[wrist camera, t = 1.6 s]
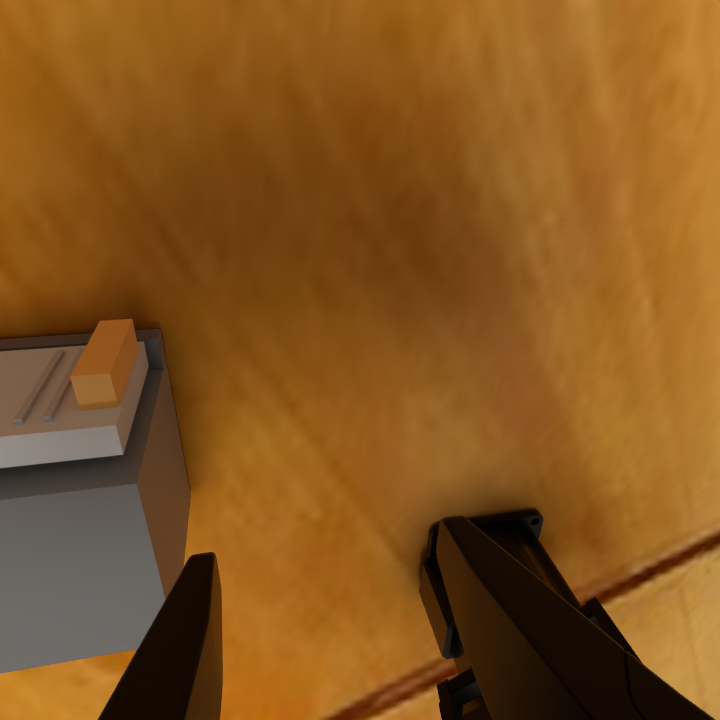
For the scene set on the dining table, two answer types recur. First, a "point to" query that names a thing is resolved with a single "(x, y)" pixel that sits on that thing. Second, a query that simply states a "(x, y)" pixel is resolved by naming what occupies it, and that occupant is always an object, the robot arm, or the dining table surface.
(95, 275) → the dining table surface
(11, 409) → the side door
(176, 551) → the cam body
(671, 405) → the dining table surface
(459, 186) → the dining table surface
